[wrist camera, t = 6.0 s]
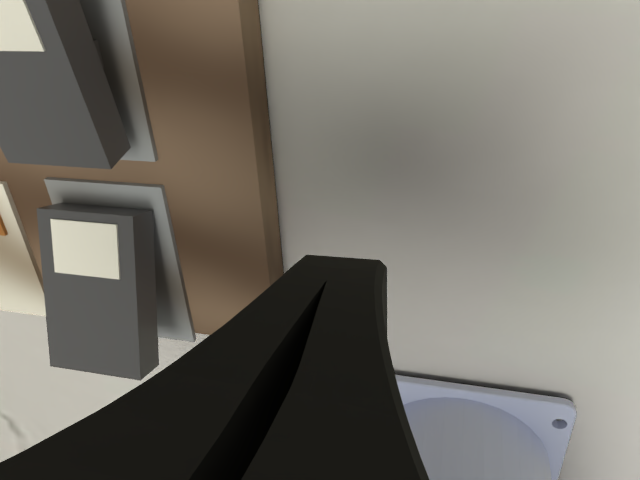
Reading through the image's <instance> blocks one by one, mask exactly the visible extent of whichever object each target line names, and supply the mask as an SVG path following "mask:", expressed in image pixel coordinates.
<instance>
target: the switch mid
mask: <svg viewBox="0 0 640 480" xmlns="http://www.w3.org/2000/svg"><path fill="white" fill-rule="evenodd" d="M0 148H1V149H2V151H3V153H4V155H5V157H6V159H7V161H8V163H20V164H36V165H51V166H67V167H82V168H98V169H112V168H113V167H114V166H115V165H116V163H117V162H118V161H119V160H120V159H121V158H122V157H123V156H124V155H125V153H126V152H127V151H128V150H129V149H130V148H131V146H130V144H129V141H128V138H127V135H126V132H125V129H124V126H123V124H122V121H121V118H120V115H119V112H118V109H117V107H116V104H115V101H114V98H113V95H112V92H111V89H110V87H109V84H108V81H107V78H106V75H105V72H104V70H103V67H102V64H101V61H100V58H99V55H98V53H97V50H96V47H95V44H94V41H93V38H92V35H91V33H90V30H89V27H88V24H87V21H86V18H85V16H84V13H83V10H82V7H81V4H80V1H79V0H0Z"/></svg>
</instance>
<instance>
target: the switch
mask: <svg viewBox="0 0 640 480" xmlns="http://www.w3.org/2000/svg"><path fill="white" fill-rule="evenodd" d="M36 209H37V220H38V231H39V242H40V254H41V265H42V276H43V287H44V299H45V310H46V321H47V332H48V344H49V355H50V366H53V367H59V368H66V369H72V370H78V371H85V372H91V373H97V374H104V375H110V376H116V377H123V378H129V379H135V380H142V379H143V378H144V377H145V376H146V375H147V374H149V373H150V372H151V371H152V370H153V369H154V368H156V367H157V366H158V365H159V356H158V330H157V305H156V279H155V253H154V228H153V210H147V209H134V208H122V207H110V206H97V205H85V204H73V203H58V204H53V205H49V206H44V207H40V208H36Z"/></svg>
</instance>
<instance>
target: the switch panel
mask: <svg viewBox="0 0 640 480" xmlns="http://www.w3.org/2000/svg"><path fill="white" fill-rule="evenodd" d="M79 1H80V4H81V7H82V10H83V13H84V16H85V18H86V21H87V24H88V27H89V30H90V33H91V35H92V38H93V41H94V44H95V47H96V50H97V53H98V55H99V58H100V61H101V64H102V67H103V70H104V72H105V75H106V78H107V81H108V84H109V87H110V89H111V92H112V95H113V98H114V101H115V104H116V107H117V109H118V112H119V115H120V118H121V121H122V124H123V126H124V129H125V132H126V135H127V138H128V141H129V144H130V146H131V148H130V149H129V150H128V151H127V152H126V153H125V155H124V156H123V157H122V158H121V159H120V160H119V161H118V162H117V163H116V165H115V166H114V167H113V168H112V169H98V168H82V167H67V166H51V165H36V164H20V163H8V161H7V159H6V157H5V155H4V153H3V151H2V149H1V148H0V310H2V311H10V312H17V313H24V314H32V315H39V316H46V310H45V299H44V287H43V276H42V265H41V254H40V242H39V231H38V220H37V209H36V208H40V207H44V206H49V205H53V204H58V203H73V204H85V205H97V206H110V207H122V208H134V209H147V210H153V228H154V253H155V279H156V305H157V330H158V337H161V338H168V339H175V340H182V341H190V342H194V341H195V340H196V335H195V333H201V334H208V335H211V334H212V333H214V332H215V331H216V330H218V329H219V328H220V327H222V326H223V325H224V324H226V323H227V322H228V321H229V320H230V319H232V318H233V317H234V316H235V315H236V314H238V313H239V312H240V311H241V310H242V309H244V308H245V307H246V306H247V305H249V304H250V303H251V302H252V301H253V300H254V299H256V298H257V297H258V296H259V295H260V294H261V293H263V292H264V291H265V290H266V289H267V288H268V287H270V286H271V285H272V284H273V283H274V282H275V281H276V280H278V279H279V278H280V277H281V276H282V275H283V274H284V272H283V262H282V251H281V241H280V230H279V220H278V209H277V198H276V188H275V177H274V167H273V156H272V146H271V135H270V124H269V114H268V103H267V93H266V82H265V72H264V61H263V50H262V40H261V29H260V19H259V8H258V0H79Z"/></svg>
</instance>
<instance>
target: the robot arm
mask: <svg viewBox="0 0 640 480" xmlns="http://www.w3.org/2000/svg"><path fill="white" fill-rule="evenodd" d="M556 419H562V420H561V421H557V420H556ZM575 419H576V408H575V405H574V403H573V402H572V401H570V400H568V399H565V398H559V397H552V396H545V395H537V394H530V393H523V392H516V391H509V390H502V389H494V388H487V387H480V386H473V385H466V384H458V383H451V382H444V381H437V380H430V379H423V378H415V377H408V376H401V375H395V373H394V369H393V365H392V361H391V356H390V351H389V346H388V340H387V267H386V266H385V265H384V264H383V263H382V262H381V261H380V260H370V259H356V258H343V257H329V256H315V255H306V256H305V257H303V258H302V259H301V260H300V261H298V262H297V263H296V264H295V265H294V266H293V267H291V268H290V269H289V270H288V271H287V272H286V273H284V274H283V275H282V276H281V277H280V278H279V279H278V280H276V281H275V282H274V283H273V284H272V285H271V286H270V287H268V288H267V289H266V290H265V291H264V292H263V293H261V294H260V295H259V296H258V297H257V298H256V299H254V300H253V301H252V302H251V303H250V304H249V305H247V306H246V307H245V308H244V309H242V310H241V311H240V312H239V313H238V314H236V315H235V316H234V317H233V318H232V319H230V320H229V321H228V322H227V323H226V324H224V325H223V326H222V327H220V328H219V329H218V330H216V331H215V332H214V333H212V334H211V335H210V336H208V337H207V338H206V339H204V340H203V341H202V342H200V343H199V344H198V345H196V346H195V347H194V348H193V349H191V350H190V351H189V352H187V353H186V354H185V355H183V356H182V357H181V358H179V359H178V360H177V361H175V362H174V363H172V364H171V365H169V366H168V367H166V368H165V369H164V370H162V371H161V372H159V373H158V374H156V375H155V376H153V377H152V378H150V379H149V380H147V381H146V382H144V383H142V384H141V385H139V386H138V387H136V388H134V389H133V390H131V391H130V392H128V393H126V394H125V395H123V396H122V397H120V398H118V399H117V400H115V401H114V402H112V403H110V404H109V405H107V406H105V407H104V408H102V409H100V410H98V411H97V412H95V413H93V414H91V415H89V416H88V417H86V418H84V419H82V420H80V421H78V422H77V423H75V424H73V425H71V426H69V427H67V428H65V429H64V430H62V431H60V432H58V433H56V434H54V435H53V436H51V437H49V438H47V439H45V440H43V441H41V442H40V443H38V444H36V445H34V446H32V447H30V448H29V449H27V450H25V451H23V452H21V453H19V454H17V455H15V456H13V457H11V458H9V459H7V460H5V461H3V462H1V463H0V480H558V478H559V475H560V471H561V468H562V464H563V461H564V457H565V454H566V450H567V447H568V444H569V440H570V437H571V433H572V430H573V426H574V423H575Z"/></svg>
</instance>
